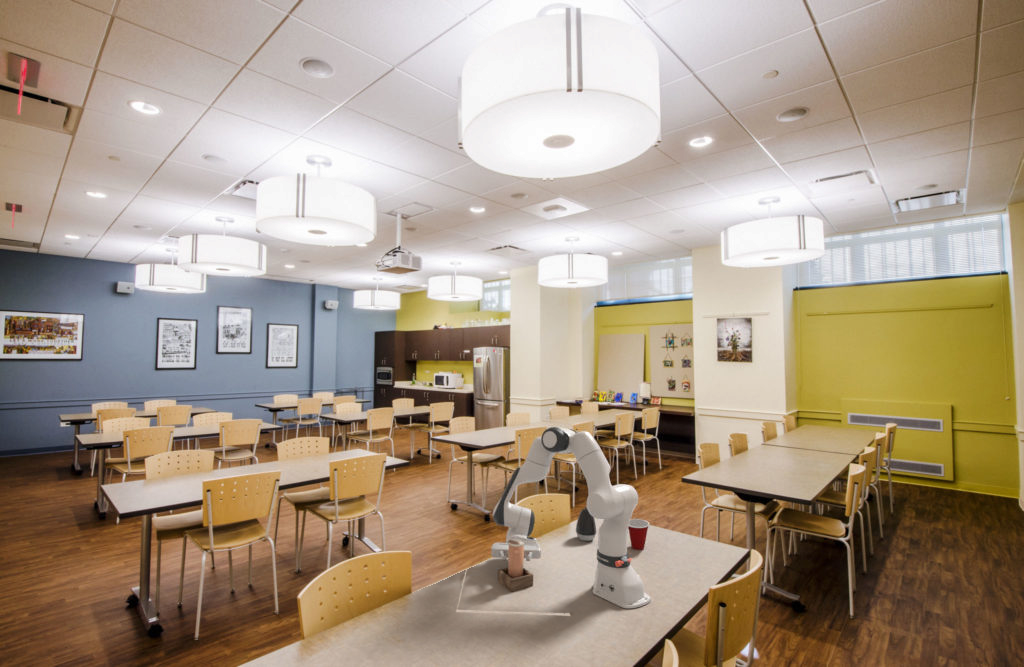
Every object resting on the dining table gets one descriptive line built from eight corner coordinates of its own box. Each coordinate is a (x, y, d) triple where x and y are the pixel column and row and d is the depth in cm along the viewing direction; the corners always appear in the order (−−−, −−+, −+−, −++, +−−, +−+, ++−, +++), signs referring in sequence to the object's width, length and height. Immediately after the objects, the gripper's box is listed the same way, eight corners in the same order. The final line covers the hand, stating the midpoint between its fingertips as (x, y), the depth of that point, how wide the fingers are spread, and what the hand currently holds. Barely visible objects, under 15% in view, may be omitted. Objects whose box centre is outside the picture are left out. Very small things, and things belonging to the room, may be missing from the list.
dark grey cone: (595, 536, 240) (595, 505, 241) (597, 543, 230) (597, 511, 231) (575, 534, 241) (575, 504, 242) (575, 542, 231) (576, 510, 232)
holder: (533, 587, 183) (533, 574, 183) (510, 593, 178) (511, 580, 178) (519, 577, 192) (519, 564, 192) (497, 583, 186) (498, 569, 187)
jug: (507, 579, 188) (508, 538, 189) (523, 579, 188) (524, 538, 189) (507, 589, 179) (508, 546, 180) (523, 590, 179) (524, 547, 180)
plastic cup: (621, 545, 229) (621, 519, 230) (638, 542, 234) (639, 517, 234) (635, 553, 219) (636, 527, 220) (654, 550, 224) (654, 524, 224)
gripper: (491, 536, 200) (489, 549, 186) (540, 538, 200) (541, 551, 186) (491, 552, 200) (489, 566, 186) (539, 553, 199) (541, 567, 186)
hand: (516, 558), depth 186 cm, fingers open, 8 cm apart
